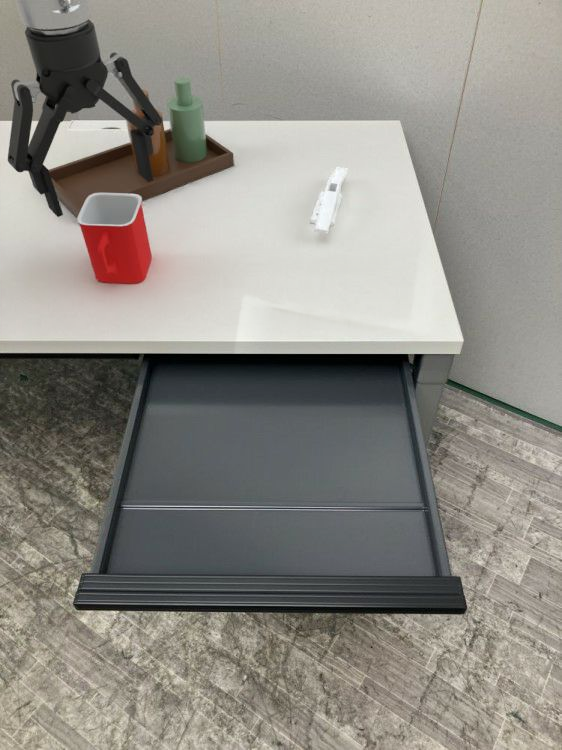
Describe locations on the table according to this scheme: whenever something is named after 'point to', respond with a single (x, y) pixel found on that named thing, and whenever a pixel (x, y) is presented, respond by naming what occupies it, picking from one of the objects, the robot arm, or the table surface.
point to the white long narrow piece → (328, 202)
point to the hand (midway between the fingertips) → (102, 194)
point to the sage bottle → (187, 123)
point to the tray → (131, 173)
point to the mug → (116, 237)
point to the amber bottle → (160, 154)
